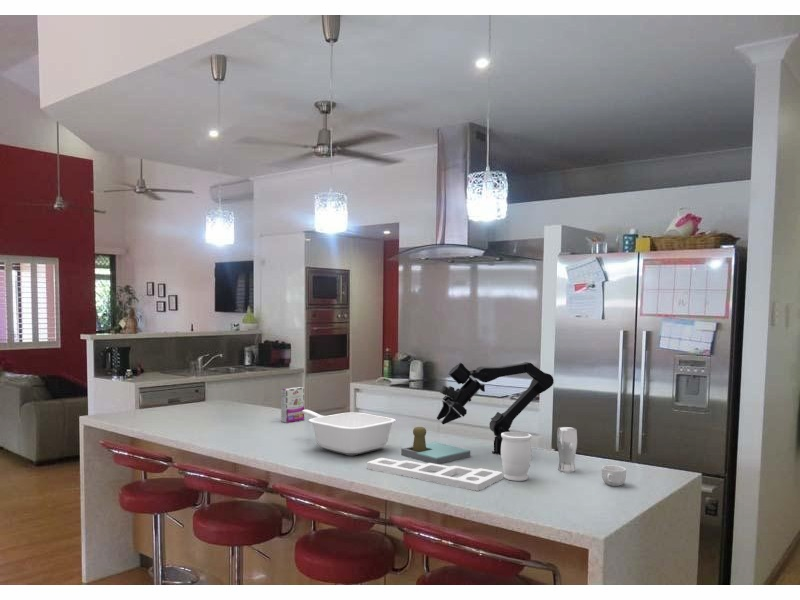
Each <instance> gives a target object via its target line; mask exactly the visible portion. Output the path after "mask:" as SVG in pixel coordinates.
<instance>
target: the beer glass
mask: <svg viewBox="0 0 800 600" xmlns="http://www.w3.org/2000/svg"><path fill="white" fill-rule="evenodd" d="M577 431H578V430H577V428H575V427H570V426H569V427H568V426H559V427H557V433H556V434H557V435H556V436H557V437H556V444H557V446H556V447H557V451H558V452H557V453H558V466H557V470H558V471H559V472H561V471H562V472H561V473H565V472H573V473H575V472H576V466H575V465H576V464H575V457H576V452H577V447H578V434H577V433H578V432H577Z"/></svg>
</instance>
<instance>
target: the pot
mask: <svg viewBox="0 0 800 600" xmlns="http://www.w3.org/2000/svg"><path fill="white" fill-rule="evenodd" d="M302 413H303V414H304V415H306V416H308V417H311V418H310V419H308V423H311V424H312V428H313V431H314V436H315V441H316V443H317V444H318V446H320V448H321V449H323V450H326V451H330V452H332V453H333V452H334V453H336V454H340V455H341V454H342V455H345V456H349V457H352V456H353V457H354V456H358V454H359V455H362V454H367V453H370V452H375V451H378V450H380V449H382V448H384V446H386V444H387V443H388V441H389V436H390V433H391V430H392V424H395V423H396V422H397V420H396V419H395V418H393V417H386V416H381V415H375V414H370V413H364V412H352V411H349V412H342V413H335V414H330V415H322V414H319V413H317V412H315V411H313V410H310V409H304V410H302Z"/></svg>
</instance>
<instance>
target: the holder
mask: <svg viewBox="0 0 800 600" xmlns="http://www.w3.org/2000/svg"><path fill="white" fill-rule="evenodd" d="M367 468H368V469H367ZM408 468H410V469H408ZM366 469H367V470H371V469H373V471H376V470H378V472H381V471H383V472H382V473H386V472H388V473H387V474H391V473H393V474H392V475H396V474H398V475H397V476H401V475H403V476H402V477H406V476H409V477H408V478H411V477H413V478H412V479H416V478H418V479H417V480H420V479H423V480H422V481H425V480H428V481H427V482H430V481H433V482H432V483H435V482H438V483H437V484H440V483H443V484H442V485H445V484H448V485H447V486H450V485H453V486H452V487H455V486H457V487H456V488H460V487H461V488H460V489H465V488H466V490H470V489H471V491H475V490H476V492H480V491H482V490H484V489H486V488H487V486H488V487H489V485H490V486H491V484H492V485H494V484H496V483H497V482H499V481H501V480H503V479H504V477H503V476H504V473H503V472H504V471H497V470H492V469H487V468H481V467H480V468H479V467H478V468H471V467H465V466H460V465H451V466H450V465H449V466H448V465H443V464H434V463H429V462H426V463H423V462H417V461H412V460H407V459H405V460H397V459H396V460H395V459H392V458H386V457H378V458H376V459H372V460H369V461H367V462H366ZM429 471H430V472H429ZM433 471H436V472H433ZM454 474H455V475H461V476H458V477H454ZM452 475H453V476H452ZM495 482H496V483H495ZM493 483H494V484H493ZM485 487H486V488H485ZM483 488H484V489H483ZM481 489H482V490H481ZM479 490H480V491H479Z"/></svg>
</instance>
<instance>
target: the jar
mask: <svg viewBox="0 0 800 600" xmlns="http://www.w3.org/2000/svg"><path fill="white" fill-rule="evenodd" d="M501 437H502V438H503V439H502V443H501V455H500V457H501V465H502V470H503V472H504V473H503V479H505V480H508V481H511V482H512V481H513V482H523V481H527V480H528V479H529V476H528V472H529V469H530V466H531V460H532V443H531V439H532V434H530V433H528V432H522V431H510V432H503V433H501Z"/></svg>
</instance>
